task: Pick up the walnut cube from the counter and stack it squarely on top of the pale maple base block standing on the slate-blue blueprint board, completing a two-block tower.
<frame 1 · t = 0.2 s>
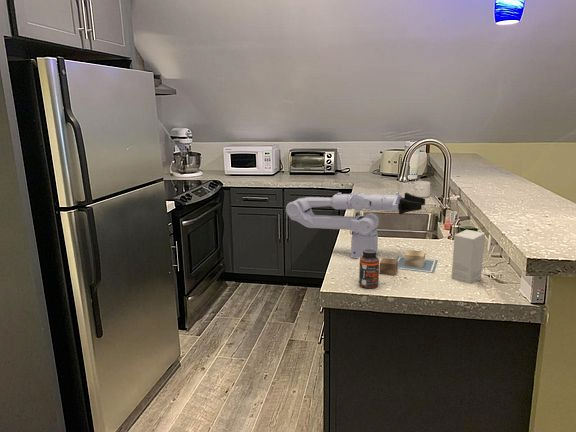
hand: (423, 204, 155), 21 cm above the worktop, tool horizontal, fingers open, 7 cm apart
maple base block: (414, 264, 155), point 1 cm above the worktop, touching blueprint board
supplement bottle: (368, 286, 140), on the worktop
blueprint board: (414, 266, 155), on the worktop
skincare box: (466, 281, 141), on the worktop
walnut cube: (388, 275, 148), on the worktop
mug: (419, 196, 281), on the worktop
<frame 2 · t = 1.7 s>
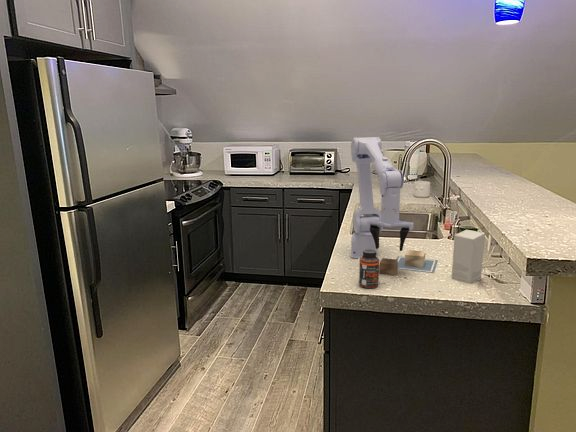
hand: (389, 249, 146), 9 cm above the worktop, tool pointing down, fingers open, 7 cm apart
nothing on the worktop moved.
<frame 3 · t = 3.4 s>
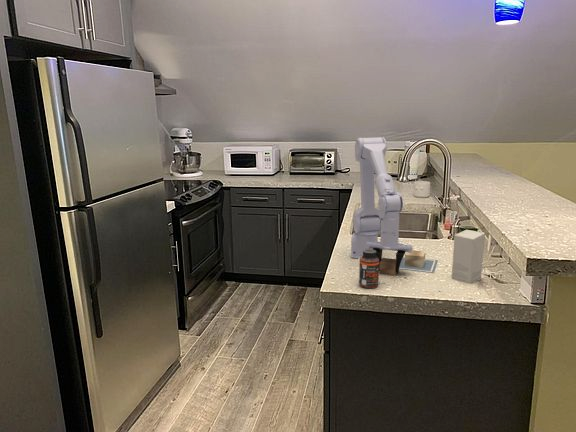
hand: (388, 271, 148), 1 cm above the worktop, tool pointing down, fingers closed on walnut cube, 5 cm apart
walnut cube: (388, 275, 148), on the worktop, touching gripper
everything else where it was.
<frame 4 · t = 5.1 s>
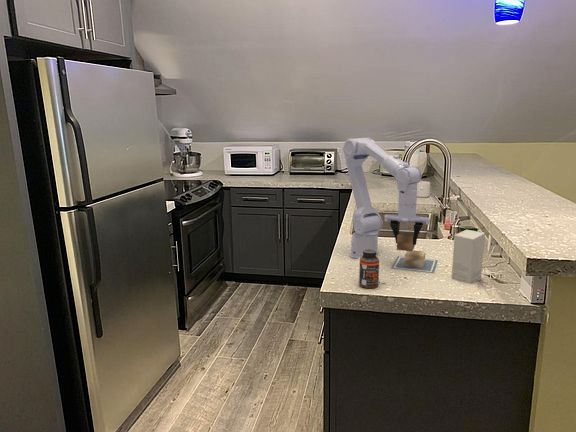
hand: (406, 243, 150), 9 cm above the worktop, tool pointing down, fingers closed on walnut cube, 5 cm apart
walnut cube: (405, 248, 150), point 8 cm above the worktop, touching gripper
everything else where it was.
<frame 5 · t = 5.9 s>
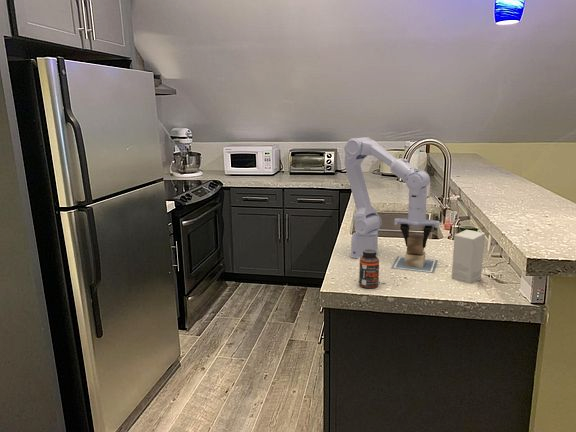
hand: (415, 246, 153), 7 cm above the worktop, tool pointing down, fingers closed on walnut cube, 5 cm apart
walnut cube: (415, 251, 154), point 6 cm above the worktop, touching gripper
everything else where it was.
when the fingers open (7 cm above the worktop, at t = 6.8 s): walnut cube stays where it is, resting on maple base block.
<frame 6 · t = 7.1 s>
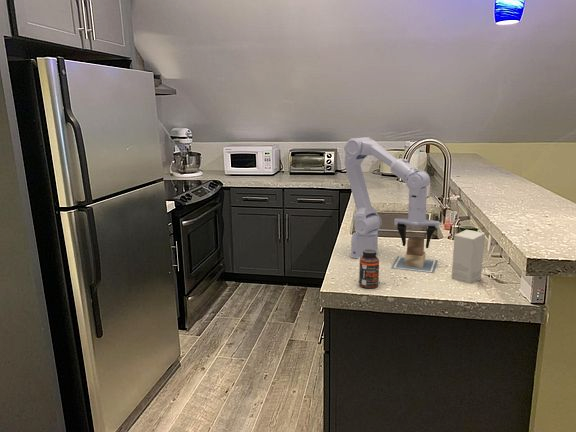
hand: (415, 246, 153), 7 cm above the worktop, tool pointing down, fingers open, 7 cm apart
maple base block: (414, 264, 155), point 1 cm above the worktop, touching blueprint board, walnut cube
walnut cube: (415, 253, 154), point 5 cm above the worktop, touching maple base block
everything else where it was.
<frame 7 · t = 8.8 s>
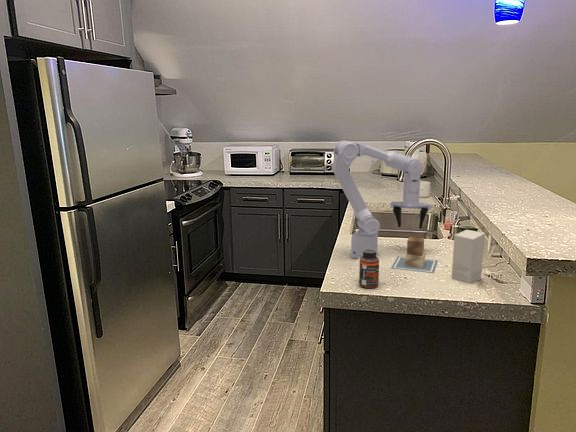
hand: (410, 227, 167), 10 cm above the worktop, tool pointing down, fingers open, 7 cm apart
nothing on the worktop moved.
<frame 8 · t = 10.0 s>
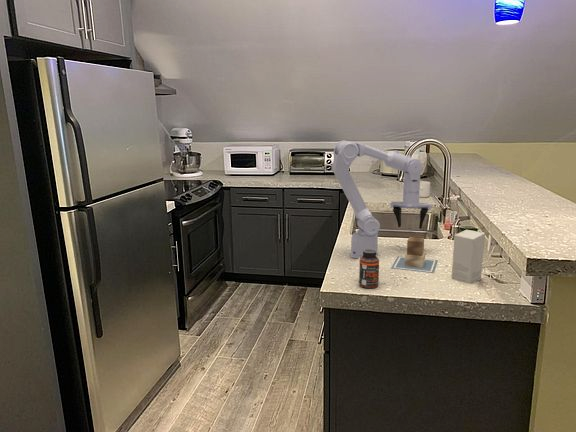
hand: (410, 227, 167), 10 cm above the worktop, tool pointing down, fingers open, 7 cm apart
nothing on the worktop moved.
at the end: walnut cube 0.2 cm off-centre on the maple base block, point 4.0 cm above the maple base block's base; walnut cube tilted 0°; maple base block moved 0.0 cm from its start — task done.
